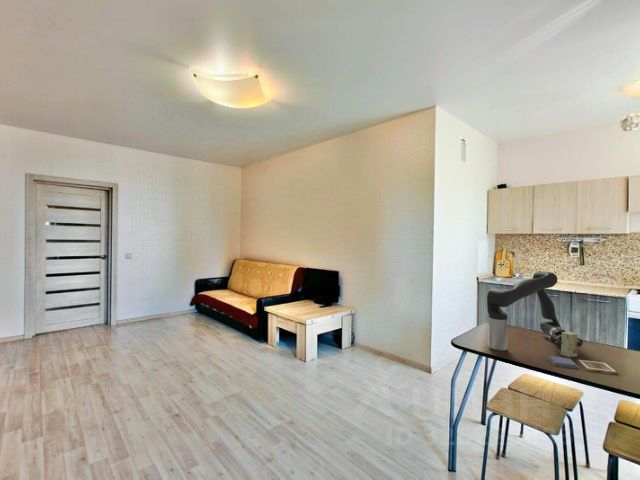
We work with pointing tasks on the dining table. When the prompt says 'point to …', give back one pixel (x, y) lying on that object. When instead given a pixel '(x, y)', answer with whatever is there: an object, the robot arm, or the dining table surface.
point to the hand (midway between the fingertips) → (570, 343)
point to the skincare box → (569, 344)
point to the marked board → (597, 367)
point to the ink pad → (562, 362)
